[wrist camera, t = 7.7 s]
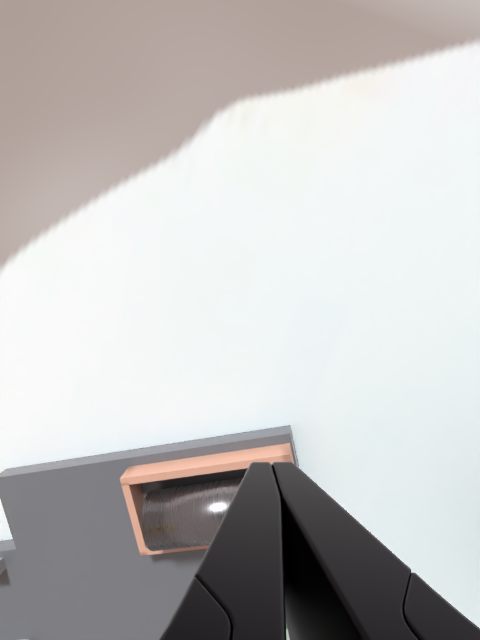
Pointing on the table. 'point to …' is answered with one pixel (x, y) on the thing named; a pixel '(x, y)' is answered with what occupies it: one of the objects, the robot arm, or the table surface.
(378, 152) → the table surface
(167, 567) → the checker
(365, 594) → the robot arm
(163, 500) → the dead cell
